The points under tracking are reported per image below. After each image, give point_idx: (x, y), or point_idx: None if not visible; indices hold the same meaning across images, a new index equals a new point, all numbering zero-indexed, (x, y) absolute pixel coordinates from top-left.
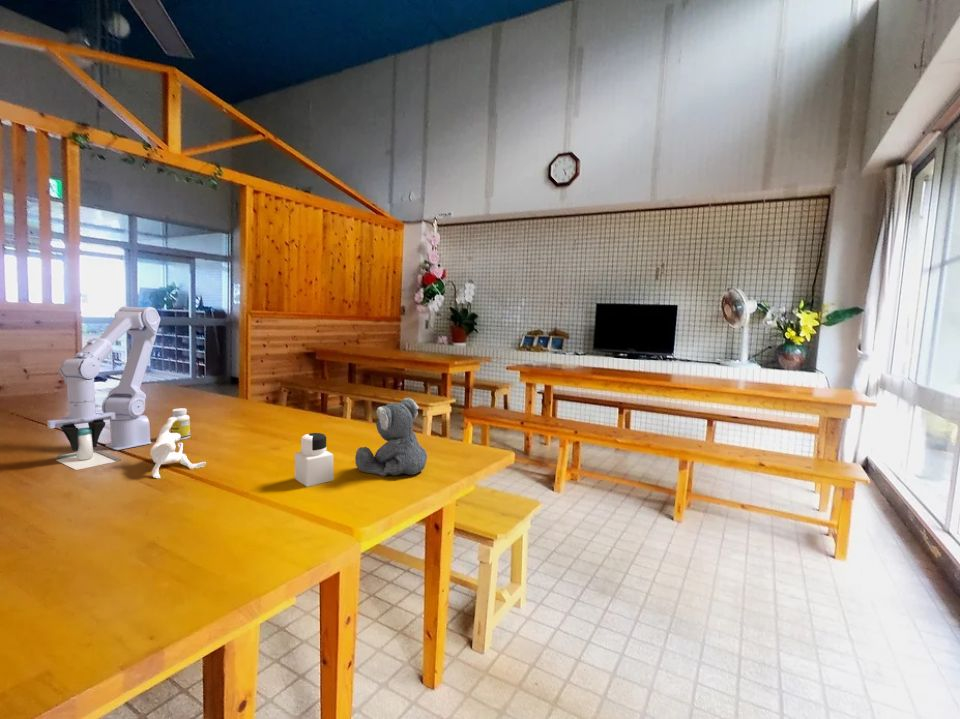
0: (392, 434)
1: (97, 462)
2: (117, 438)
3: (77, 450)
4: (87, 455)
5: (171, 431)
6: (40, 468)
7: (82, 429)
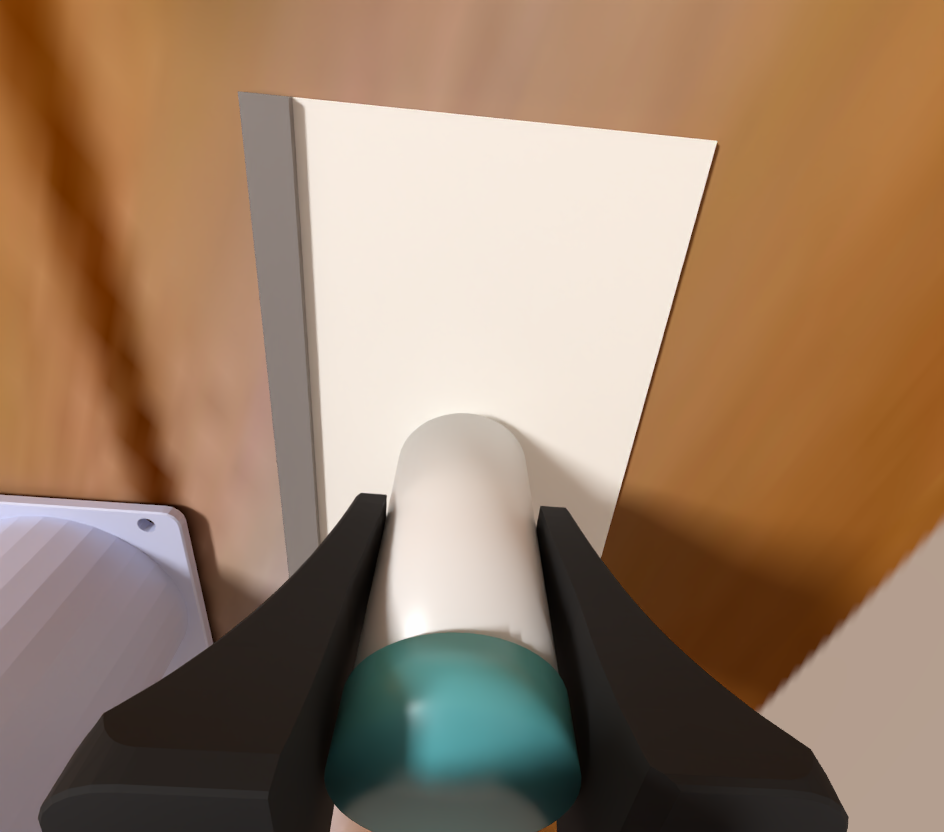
0: None
1: (451, 241)
2: (98, 632)
3: (545, 506)
4: (466, 433)
5: None
6: (771, 488)
7: (475, 777)
